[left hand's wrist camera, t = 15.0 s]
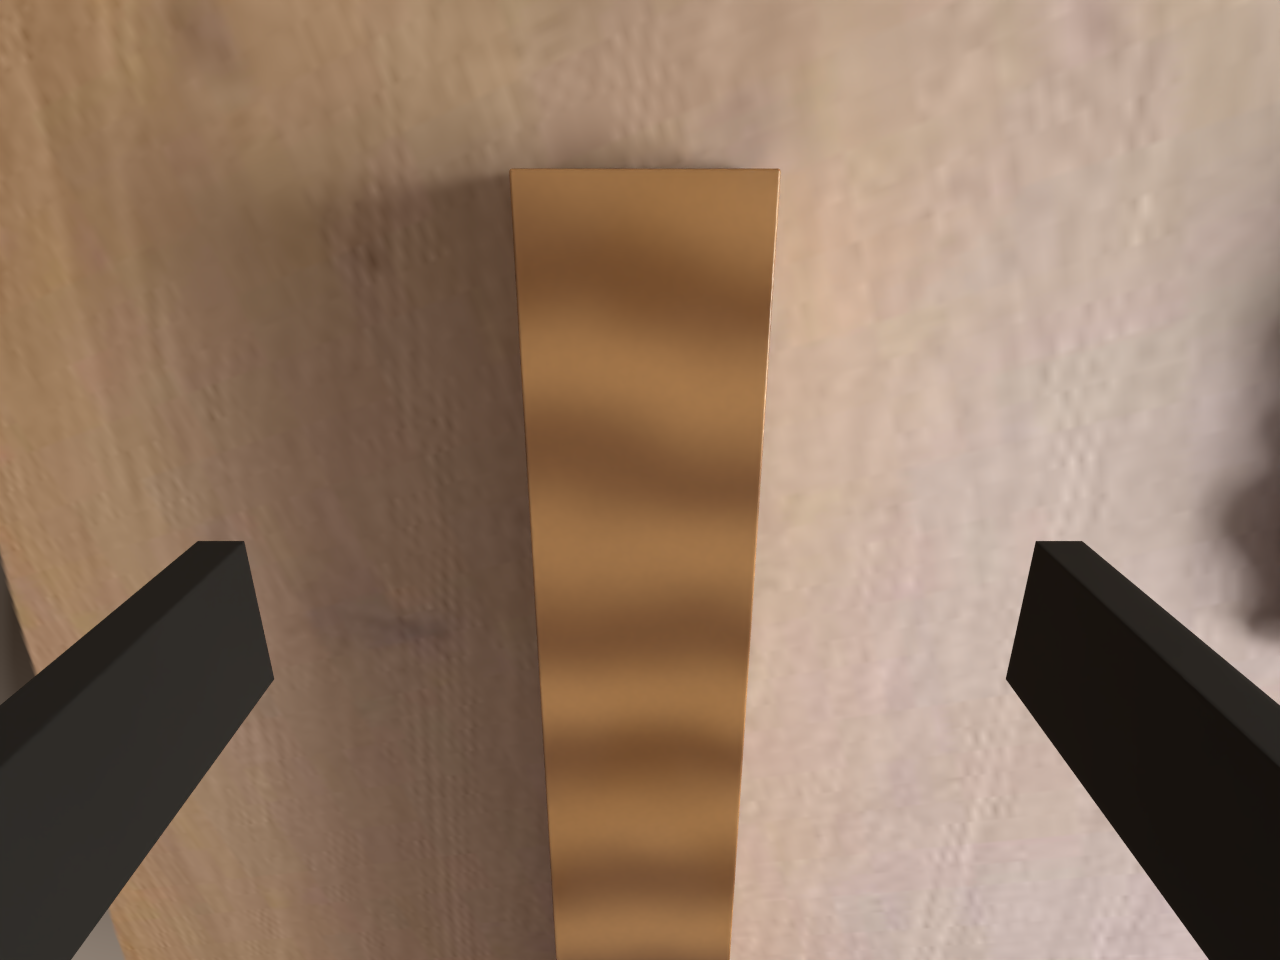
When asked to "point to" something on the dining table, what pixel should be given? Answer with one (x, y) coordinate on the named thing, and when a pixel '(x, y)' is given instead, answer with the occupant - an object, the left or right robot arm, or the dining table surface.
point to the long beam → (643, 535)
